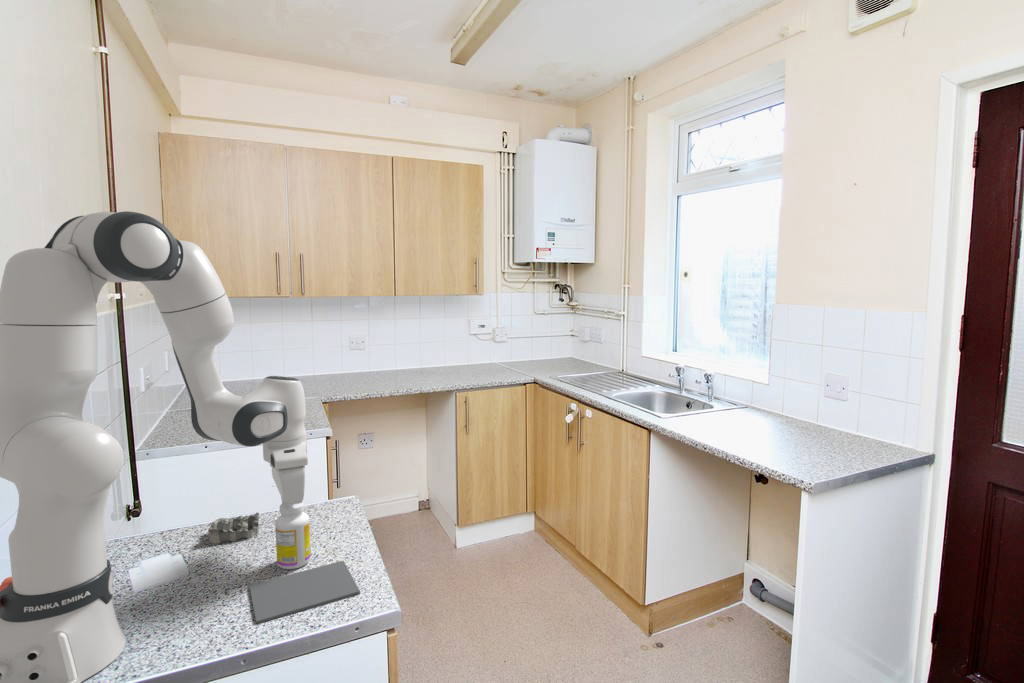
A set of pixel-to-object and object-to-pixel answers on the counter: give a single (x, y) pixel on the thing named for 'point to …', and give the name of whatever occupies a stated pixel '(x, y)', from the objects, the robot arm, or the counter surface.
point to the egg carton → (225, 526)
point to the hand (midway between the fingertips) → (287, 510)
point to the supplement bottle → (292, 537)
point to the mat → (301, 591)
